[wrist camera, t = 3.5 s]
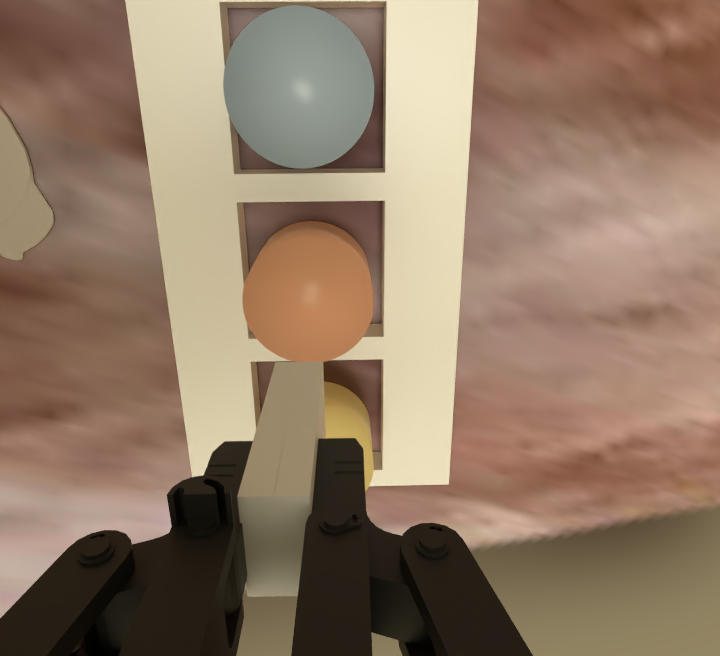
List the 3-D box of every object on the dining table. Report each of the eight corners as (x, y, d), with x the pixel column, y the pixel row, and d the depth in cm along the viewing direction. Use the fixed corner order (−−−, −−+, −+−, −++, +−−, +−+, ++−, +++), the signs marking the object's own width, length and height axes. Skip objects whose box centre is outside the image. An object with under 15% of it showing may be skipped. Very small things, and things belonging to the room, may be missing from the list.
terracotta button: (259, 332, 31) (247, 364, 27) (250, 221, 29) (236, 240, 25) (370, 330, 31) (373, 362, 27) (370, 220, 29) (374, 238, 25)
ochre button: (270, 471, 34) (261, 516, 31) (263, 381, 32) (252, 419, 28) (370, 469, 34) (373, 513, 31) (370, 379, 32) (373, 416, 29)
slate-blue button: (245, 159, 28) (230, 169, 24) (234, 18, 25) (215, 5, 22) (370, 158, 28) (374, 167, 24) (370, 18, 26) (374, 4, 22)
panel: (201, 470, 38) (194, 490, 36) (136, -21, 27) (121, -29, 25) (443, 465, 38) (448, 484, 36) (470, -22, 28) (480, -30, 26)
